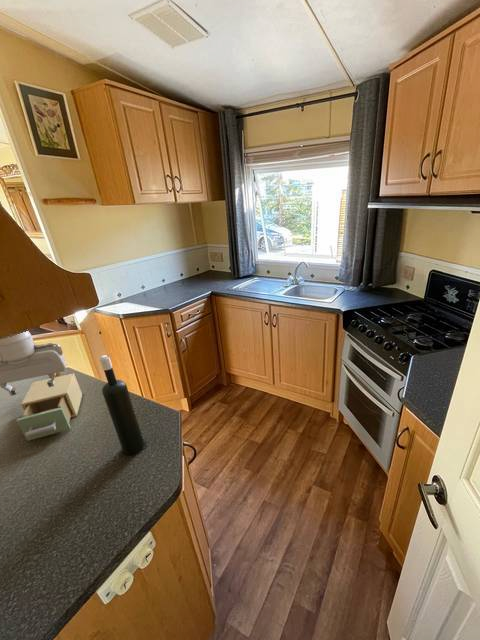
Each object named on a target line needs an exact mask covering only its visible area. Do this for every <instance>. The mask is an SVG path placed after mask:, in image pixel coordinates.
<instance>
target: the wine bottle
mask: <svg viewBox="0 0 480 640" xmlns="http://www.w3.org/2000/svg"><path fill="white" fill-rule="evenodd" d="M98 359H99V361H100V365H101V367H102V370H103V373H104V375H105V378H106V382H107V383H105V384H104V385H103V386H102V389H101V393H102V395H103V398H104V402H105V404H106V407H107V410H108V412H109V415H110V418H111V421H112V424H113V426H114V429H115V432H116V435H117V438H118V441H119V444H120V447H121V450H122V452H123V454H124V455H126V456H133V455H136V454H138V453H140V452H141V451H142V450H143V449H144V447H145V440H144V438H143V434H142V431H141V428H140V425H139V421H138V418H137V415H136V412H135V408H134V405H133V402H132V399H131V395H130V391H129V388H128V386H127V384H126V382H125V381H124V380H122V379H117V378H116V374H115V371H114V369H113V368H114V367H113V364H112V361H111V357H110V355H109V354H108V355H107V354H103V355H102V356H100V357H98Z"/></svg>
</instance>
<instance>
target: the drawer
mask: <svg viewBox="0 0 480 640" xmlns="http://www.w3.org/2000/svg"><path fill="white" fill-rule="evenodd" d="M51 409H53V410H51ZM47 410H49V411H47ZM43 411H45V412H43ZM71 414H72V410H71V408H70V405H69V403H68V401H67V398H66V396H61V397H57V398H53V399H48V400H44V401H40V402H36V403H32V404H28V405H27V407H26V409H25V411H24V410H23V413H22V416H21V417H17V419H16V423H17V425H18V426H19V429H20V431H21V433H22V434H23V436H24V438H25V440H26V441H27V442H30V441H32V440H35V439H39V438H44V437H47V436H50V435H54V434H58V433H62V432H64V431H69V430H71V428H72V427H71V424H70V420H71V418H72V417H71ZM70 417H71V418H70Z"/></svg>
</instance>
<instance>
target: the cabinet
mask: <svg viewBox="0 0 480 640" xmlns="http://www.w3.org/2000/svg"><path fill="white" fill-rule="evenodd" d="M48 380H51V378H50V377H49V378H46V379H42V380H37V381H33V382H32V384H31V386H30V387H29V388H28V391H27V393H26V394H25V396H24V398H23V399H22V402H21V404H20V405H21V407H22V409H23V412H24V411H25V409H26V407H27V405H28V404H32V403H36V402H40V401H44V400H48V399H53V398H57V397H61V396H66V398H67V401H68V403H69V405H70V408H71V410H72V414H71V417H70V419H71V418H75V417H78V415H79V414H78V413H79V411H80V410H79V409H80V405H81V401H82V397H83V393H82V390H81V387H80V384H79V381H78V380H77V377H76V375H75V373H74V372H72V373H69V374H64V375H62V376H59V377H55V378H54V381H55V386H53V387H48V385H47V382H48Z"/></svg>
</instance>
